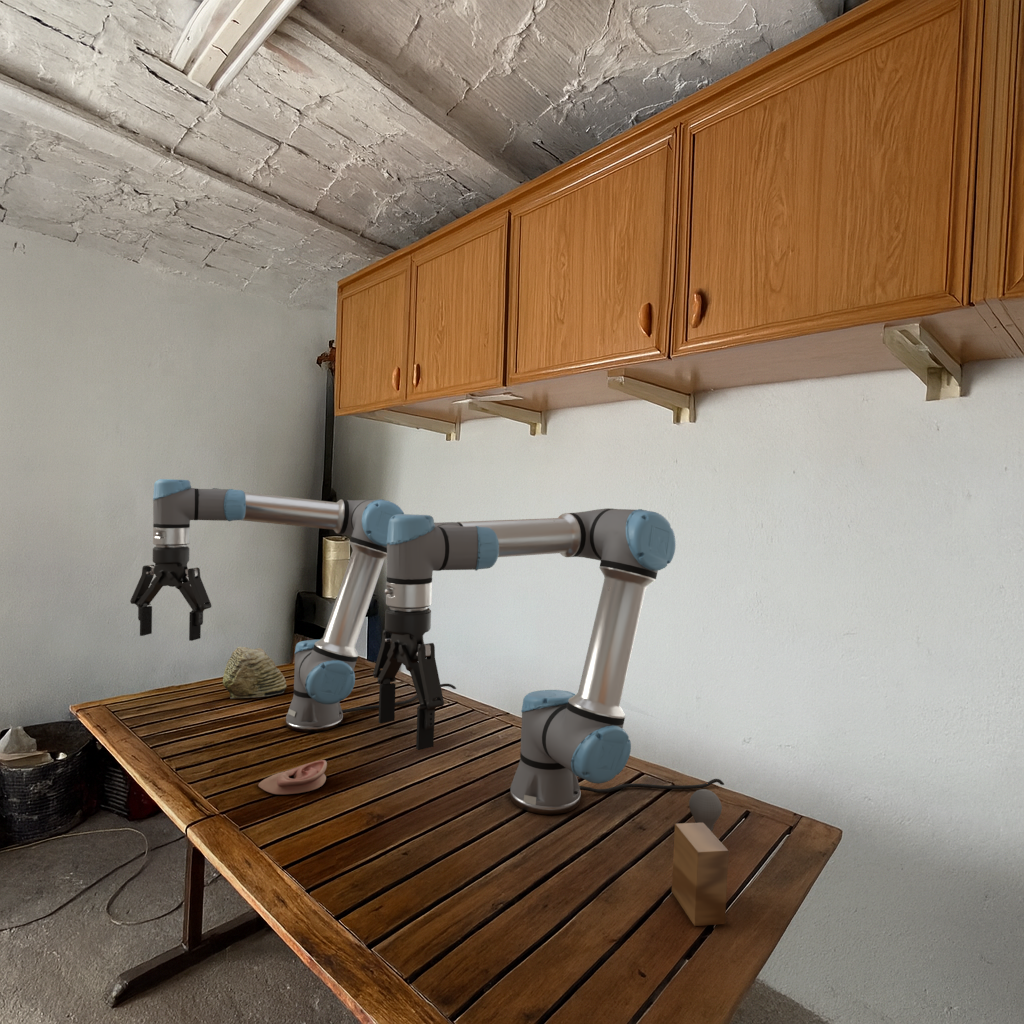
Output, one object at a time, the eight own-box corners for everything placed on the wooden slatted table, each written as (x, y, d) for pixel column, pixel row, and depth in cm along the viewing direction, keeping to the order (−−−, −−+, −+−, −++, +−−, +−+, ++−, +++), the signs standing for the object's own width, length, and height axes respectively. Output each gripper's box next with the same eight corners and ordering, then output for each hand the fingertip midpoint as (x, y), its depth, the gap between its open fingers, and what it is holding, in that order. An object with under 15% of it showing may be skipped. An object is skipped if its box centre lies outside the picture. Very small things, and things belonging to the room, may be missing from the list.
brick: (694, 926, 98) (698, 852, 97) (671, 891, 106) (674, 823, 106) (725, 924, 98) (728, 850, 98) (699, 890, 107) (703, 822, 107)
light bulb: (682, 833, 125) (685, 783, 125) (712, 833, 125) (714, 783, 125) (694, 850, 119) (696, 797, 119) (725, 850, 119) (727, 798, 119)
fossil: (218, 695, 195) (220, 647, 195) (278, 685, 208) (279, 640, 207) (228, 703, 189) (230, 653, 188) (289, 692, 201) (290, 645, 201)
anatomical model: (250, 772, 134) (280, 751, 146) (249, 790, 135) (280, 768, 146) (307, 780, 132) (333, 759, 143) (306, 799, 132) (333, 776, 143)
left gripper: (113, 544, 146) (112, 635, 146) (205, 549, 140) (204, 645, 140) (140, 542, 153) (138, 629, 154) (228, 547, 147) (227, 637, 148)
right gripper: (356, 597, 113) (353, 715, 113) (425, 622, 93) (421, 766, 93) (394, 594, 117) (391, 708, 118) (468, 618, 97) (464, 754, 98)
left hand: (170, 637), depth 147 cm, fingers open, 13 cm apart
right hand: (404, 734), depth 106 cm, fingers open, 13 cm apart
